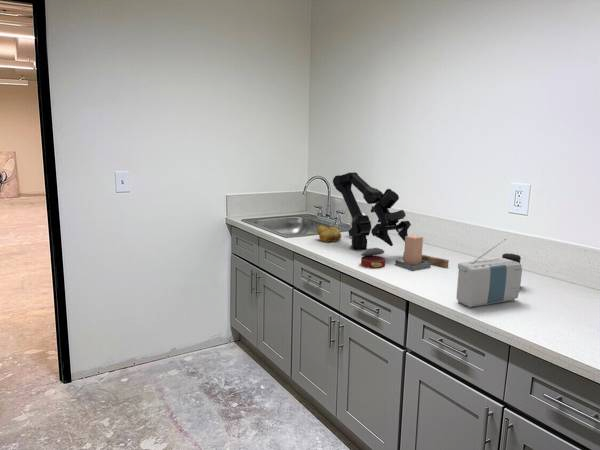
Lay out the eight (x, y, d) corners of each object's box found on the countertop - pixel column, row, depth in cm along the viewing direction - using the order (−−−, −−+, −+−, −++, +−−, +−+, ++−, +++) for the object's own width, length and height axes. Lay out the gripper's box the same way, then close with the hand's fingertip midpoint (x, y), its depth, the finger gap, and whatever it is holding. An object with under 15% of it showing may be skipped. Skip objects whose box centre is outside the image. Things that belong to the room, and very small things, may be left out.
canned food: (362, 277, 194) (351, 255, 194) (370, 269, 203) (360, 248, 202) (386, 269, 188) (375, 246, 188) (393, 261, 197) (383, 239, 196)
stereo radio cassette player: (470, 310, 147) (476, 247, 143) (452, 301, 154) (457, 242, 150) (519, 301, 155) (526, 242, 151) (499, 294, 163) (505, 237, 159)
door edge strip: (403, 258, 207) (403, 252, 206) (405, 257, 208) (406, 251, 208) (445, 268, 193) (446, 260, 193) (448, 267, 195) (448, 260, 194)
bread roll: (337, 237, 247) (337, 222, 245) (346, 241, 238) (347, 226, 237) (315, 239, 242) (315, 224, 240) (323, 243, 233) (324, 227, 232)
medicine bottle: (517, 290, 166) (521, 257, 164) (496, 287, 170) (499, 254, 168) (520, 285, 172) (523, 253, 170) (499, 282, 176) (502, 250, 174)
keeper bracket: (394, 264, 197) (394, 260, 197) (411, 261, 203) (412, 257, 202) (412, 270, 188) (412, 266, 188) (430, 267, 194) (430, 262, 194)
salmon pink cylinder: (403, 264, 196) (405, 236, 194) (412, 262, 199) (413, 235, 197) (412, 267, 192) (414, 238, 190) (421, 265, 195) (423, 237, 192)
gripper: (377, 205, 196) (394, 236, 190) (409, 202, 206) (426, 231, 199) (364, 220, 205) (379, 250, 198) (395, 217, 214) (411, 246, 207)
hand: (400, 244), depth 200 cm, fingers open, 9 cm apart
